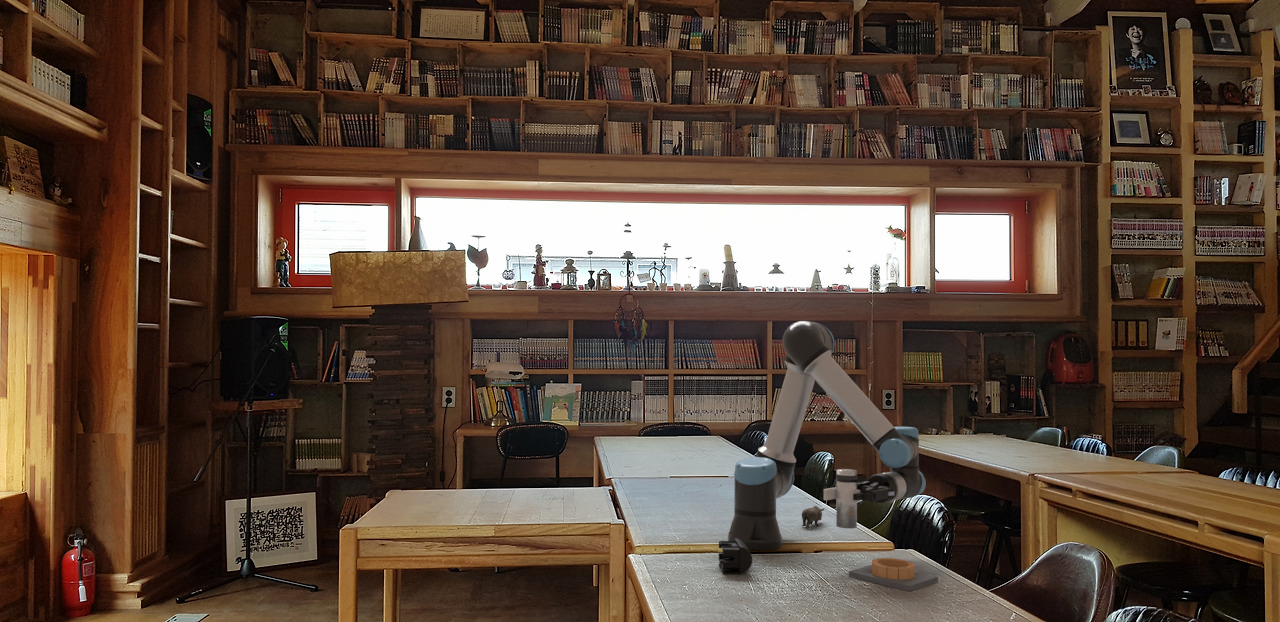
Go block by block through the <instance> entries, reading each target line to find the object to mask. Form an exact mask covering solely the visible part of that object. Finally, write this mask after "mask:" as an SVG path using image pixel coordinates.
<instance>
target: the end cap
mask: <svg viewBox="0 0 1280 622" xmlns="http://www.w3.org/2000/svg"><path fill="white" fill-rule="evenodd" d="M718 549H721V550H722V552H718V561H719V562H718V566H719V569H720V571H721V574H722V575H728V576H729V575H731V576H733V575H734V576H739V575H743V574H745V572H747V571H748V570H750V568H751V567H752V564H753V556H752V553H751V551H750V549H748V548H747V547H746V545H745V543H744V542H743V541H742V540H740V539H737V538H735V541H728V540H720V541H718Z"/></svg>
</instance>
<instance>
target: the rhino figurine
mask: <svg viewBox="0 0 1280 622" xmlns="http://www.w3.org/2000/svg"><path fill="white" fill-rule="evenodd" d="M823 511H825V508H820V507H818V506H817V505H814V506H813V507H808V508H805V509H803V510H802V512H801V520H802V526H806V527H805V529H806V528H811V526H810V524H812V523H813V524H814V526H815V525H819V523H818V522H820V521H821V520H822V517H823ZM802 526H801V527H802Z"/></svg>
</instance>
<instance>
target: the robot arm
mask: <svg viewBox="0 0 1280 622" xmlns="http://www.w3.org/2000/svg"><path fill="white" fill-rule="evenodd" d="M782 346H783V347H782V348H783V350H784V352H785V353H786V354H785V358H784V363H785V366H786V368H787V370H786V371H785V372H786V373H785V376H784V380H783V384H782V387H781V389H780V392H779V396H778V400H777V403H776V406H775V410H774V412H773V416H772V419H771V422H770V426H769V429H768V434H767V436H766V440H765V442H764V444H763V445H762V446H760V447H758V448H757V449H758V450H757V453H756V455H755V457H748V458H747V457H746V458H742V459H740V460H738V461H736V463H735V467H734V471H733V472H734V473H733V476H734V502H733V503H734V506H733V507H734V515H733V519H732V521H731V524H730V527H729V532H728V533H727V541H735V538H737V539H740V540H742V541H743V542H744V543H745V545H746V547H747V548H748V550H752V551H753V550H754V551H757V550H759V551H766V550H768V551H769V550H774V549H779V548H781V547H782V546H783V537H782V534H781V531H780V527H779V523H778V520H777V499H778V498H781V497H784V496H785V495H786V494H787V493H789V491H790V490H791V489H792V487H793V485H794V481H795V472H794V470H795V467H796V463H797V459H796V457H795V455H794V451H795V448H796V444H797V442H798V440H799V439H798V438H799V435H800V431H801V429H802V425H803V422H804V419H805V415H806V411H807V408H808V405H809V401H810V398H811V395H812V391H813V389H814V385H815V382H816V383H817V384H818V385H819V387H821V389H822V390H823V391H824V392H825V393H826V395H828V397H829V398H830V399H831V400H832V401H833V402H834V404H836V406H837V407H839V409H840V410H841V411H842V413H843V414H844V415H845V416H846V417H847V418H848V420H849V421H850V422H851V423H852V424H853V425H854V426H855V427H856V429H858V431H859V432H860V433H861V434H862V435H863V437H865V439H866V440H867V441H868V442H869V443H870V444H871V445H872V447H873V448H874V449H875V451H876V452H877V453H878V454H879V458H880V460H881V462H882V463H883V464H884V465H885V466H887V467H889V468H890V469H889V470H890V471H889V472H882V473H876V474H872V475H870V477H868V479H867V481H865V480H864V481H862V482H857V490H853V491H847V492H843V503H844V504H847V503H852V502H857V503H858V502H861V501H862V502H866V501H868V502H870V503H874V502H875V503H877V504H884V503H888V502H889V503H894V501H898V500H904V499H911V498H914V497H917V496H919V495H921V494H922V493H923V492H924V491H925V489H926V487H927V486H926V485H927V483H926V477H925V476H924V474H923V473H922V472H921V471H920V464H919V461H920V460H919V459H920V458H919V456H920V455H919V454H920V453H919V450H920V449H919V447H920V446H919V445H920V443H919V442H920V438H919V437H920V435H919V430H918V428H917V427H912V426H893V424H892V423H891V422H890V421H889V420H888V418H887V417H886V416H885V415H884V414H883V413H882V412H881V410H879V408H878V407H877V406H876V405H875V404H874V402H872V401H871V400H870V399H869V397H868V396H867V395H866V394H865V393H864V392H863V390H862V389H861V388H860V387H859V386H858V385H857V384H856V383H855V382H854V380H853V379H852V378H851V377H850V375H848V374H847V372H845V371H844V369H843V368H842V367H841V366H840V365H839V364H838V363H837V361H836V360H835V359H834V358H833V356H832V354H833V352H834V349H835V338H834V335H833V333H832V332H831V331H830V330H829V328H827V326H825V325H823V324H821V323H819V322H815V321H808V320H799V321H796V322H793V323H792V324H791V325H789V326H788V327H787V329H786V330H785V331H784V333H783V336H782ZM830 500H831V501H832V500H836V484H832V485H831V487H828V488H823V501H830Z"/></svg>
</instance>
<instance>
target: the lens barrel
mask: <svg viewBox="0 0 1280 622" xmlns="http://www.w3.org/2000/svg"><path fill="white" fill-rule="evenodd" d="M835 472H836V473H835V481H836V484H835V485H836V499H835V500H836V501H835V502H836V507H835V508H836V509H835V512H836V518H835V519H836V521H835V526H836V527H837V528H840V529H841V528H842V529H857V527H858V525H857V524H858V511H857V510H858V501H857V502H852V503H847V504H844V503H843V492H847V491H853V490H857V483H858V470H856V469H852V468H851V469H850V468H838V469H836V471H835Z"/></svg>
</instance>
